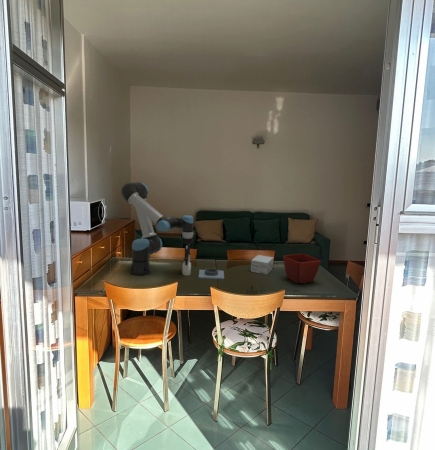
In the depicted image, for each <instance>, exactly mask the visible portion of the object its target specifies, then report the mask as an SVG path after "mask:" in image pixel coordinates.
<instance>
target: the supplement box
mask: <svg viewBox="0 0 435 450" xmlns="http://www.w3.org/2000/svg"><path fill="white" fill-rule="evenodd" d="M250 261H251V262H250V272H252V273H259V274H262V273H263V274H262V275H268V274H269V273H270V271H272V270H273V269H274V256H267V255H261V254H258V255H256V256H254V257H253V258H252V259H251V260H250ZM272 268H273V269H272Z"/></svg>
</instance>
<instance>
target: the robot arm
mask: <svg viewBox="0 0 435 450" xmlns="http://www.w3.org/2000/svg"><path fill="white" fill-rule="evenodd" d="M148 194H149V188H148V186H147V184H145V183H143V182H140V181H139V182H126V183H124V184H123V185H122V186H121V189H120V195H121V197H122V198H123V199H124V201H126V202H127V203H128V204H129V205H132V206H134V207H135V208H134V209H135V212H136V215H137V218H138V223H139V226H140V230H141V234H142V235H141V238H137V239H134V240H133V241H132V243H131V244H132V245H131V255H132V256H131V259H132V260H131V263H130V267H129V274H131V275H134V276H146V275H149V274H151V273H152V267H151V263H150V255H153V254H156V253H158V252H159V251H161V250H162V247H163V242H162V241H163V240H162V239H161V238H160V237H159V236H158V234H157V233H156V232H155V230H154V226H153V223H154V224H156V226H157V230H158V231H159V232H161V233H162V232H169V231H171V230H174V229H181V230H182V231H181V234H182V236H181V237H182V238H181V242H182V244H185V245H184V259H183V262H185V268H184V269H188V265H189V262H190V263H191V255H192V253H191V244H193V242H194V238H193V237H194V234H195V232H194V217H193V215H187V214H183V216H182V217H176V216H169V217H167V218H166V217H165V216H164V215H163V214H162V213H160V212H159V211H158V210H157V209H156V208H154V207H153V206H152V205H151V204H150V203H148V202H147V200H148V197H147V196H148Z"/></svg>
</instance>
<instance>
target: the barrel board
mask: <svg viewBox="0 0 435 450" xmlns="http://www.w3.org/2000/svg"><path fill="white" fill-rule="evenodd" d="M224 271H225V270H219V269H217V268H212V267H211V268H210V267H209V268H206V269H198V277H197V278H198V279H210V280H225V273H224Z"/></svg>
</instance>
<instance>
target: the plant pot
mask: <svg viewBox="0 0 435 450" xmlns="http://www.w3.org/2000/svg"><path fill="white" fill-rule="evenodd" d="M282 259H283V265H284V270H285V273H286V277H287V279H288V280H289V279H290V280H289V281H291V280H292V281H291V282H293V281H294V282H293V283H295V282H296V283H295V284H297V283H304V284H306V283H305V282H311V283H313V281H314V280H315V278H316V276H317V273H318V272H319V268H320V265H321V262H322V261H321V259H318V258H316V257H314V256H311V255H308V254H306V253H297V254H287V255H283V257H282Z"/></svg>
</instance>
